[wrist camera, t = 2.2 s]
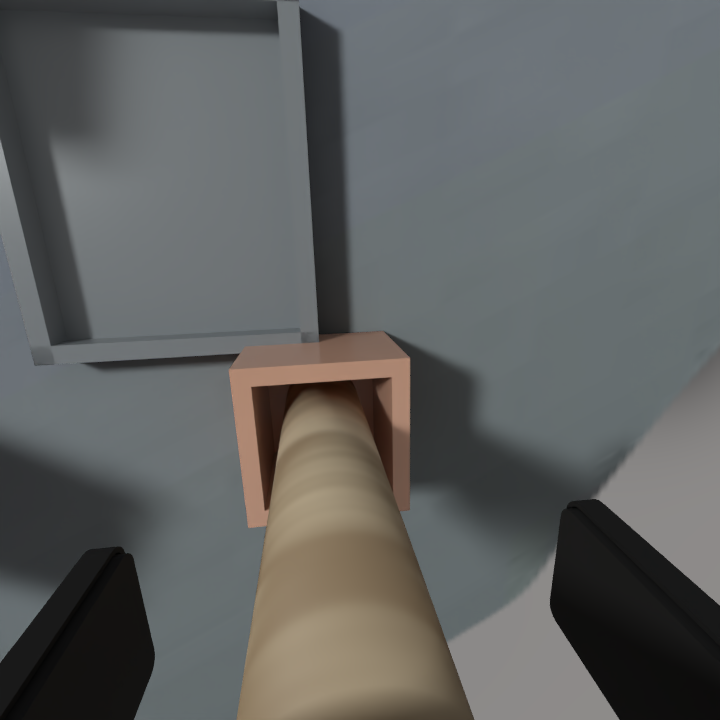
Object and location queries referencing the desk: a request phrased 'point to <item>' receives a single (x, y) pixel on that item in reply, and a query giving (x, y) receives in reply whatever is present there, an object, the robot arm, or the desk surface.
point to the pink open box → (320, 364)
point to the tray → (155, 177)
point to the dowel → (341, 583)
